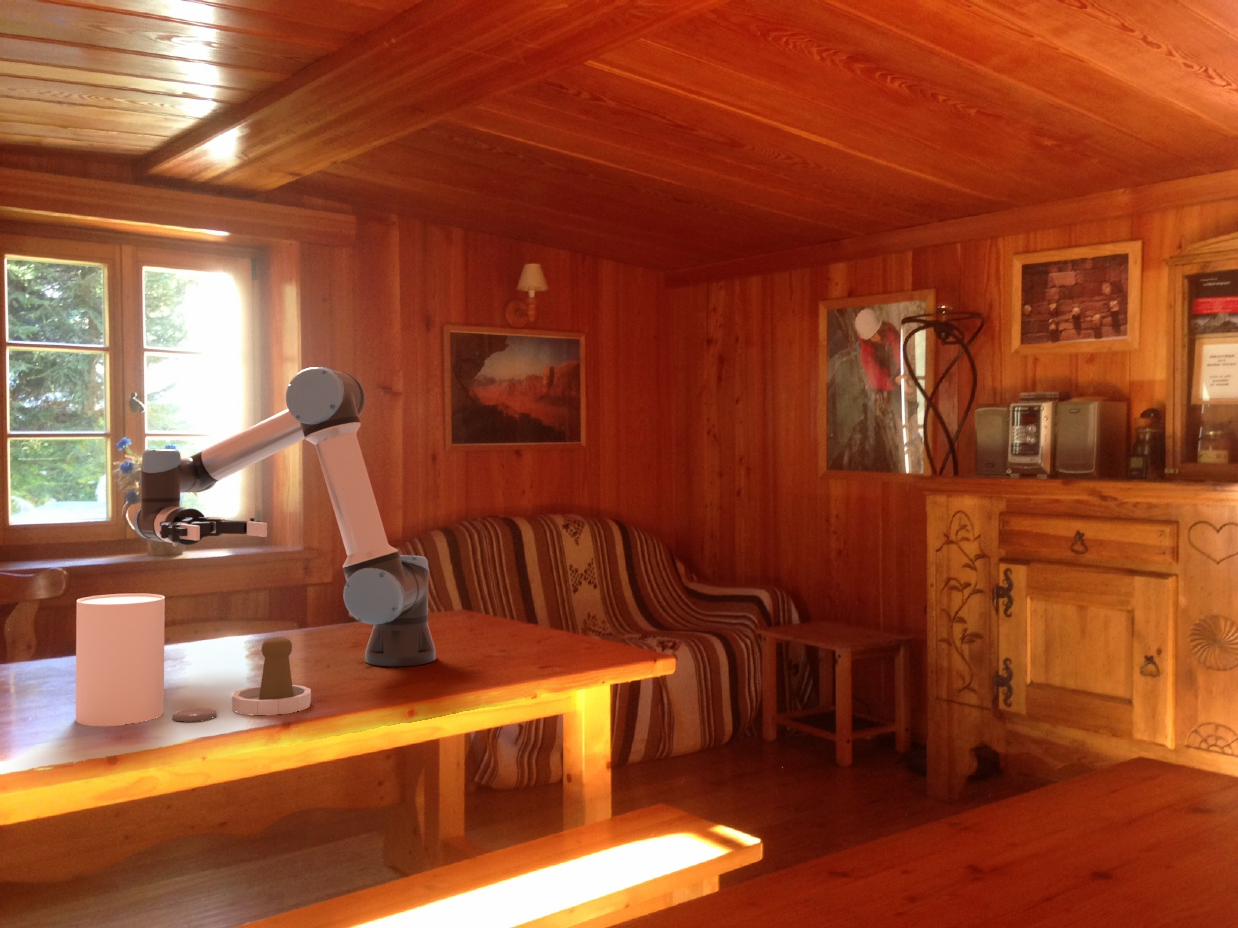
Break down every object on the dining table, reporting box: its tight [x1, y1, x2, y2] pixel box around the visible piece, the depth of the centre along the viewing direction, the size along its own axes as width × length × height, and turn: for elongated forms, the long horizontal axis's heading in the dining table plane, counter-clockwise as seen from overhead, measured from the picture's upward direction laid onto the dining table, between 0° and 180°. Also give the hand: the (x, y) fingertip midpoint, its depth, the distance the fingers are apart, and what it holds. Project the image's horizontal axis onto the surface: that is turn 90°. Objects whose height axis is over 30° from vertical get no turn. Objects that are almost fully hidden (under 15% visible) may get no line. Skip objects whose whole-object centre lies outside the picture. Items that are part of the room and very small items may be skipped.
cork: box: [259, 637, 294, 700], centre depth 186 cm, size 6×6×11 cm
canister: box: [75, 593, 166, 727], centre depth 177 cm, size 14×14×20 cm
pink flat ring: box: [231, 684, 312, 716], centre depth 185 cm, size 13×13×2 cm
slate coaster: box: [171, 708, 218, 723], centre depth 177 cm, size 7×7×1 cm
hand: (232, 531), depth 199 cm, fingers open, 13 cm apart
